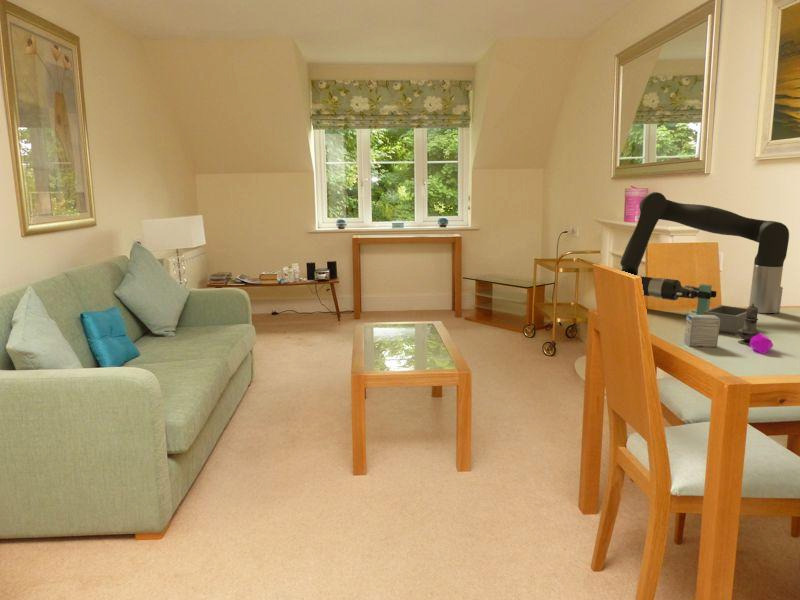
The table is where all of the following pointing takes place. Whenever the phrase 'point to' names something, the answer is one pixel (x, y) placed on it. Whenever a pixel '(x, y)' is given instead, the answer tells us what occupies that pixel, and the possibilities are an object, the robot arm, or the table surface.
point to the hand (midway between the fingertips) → (713, 295)
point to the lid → (702, 301)
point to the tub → (729, 318)
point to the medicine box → (702, 330)
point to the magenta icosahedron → (761, 343)
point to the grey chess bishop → (749, 326)
